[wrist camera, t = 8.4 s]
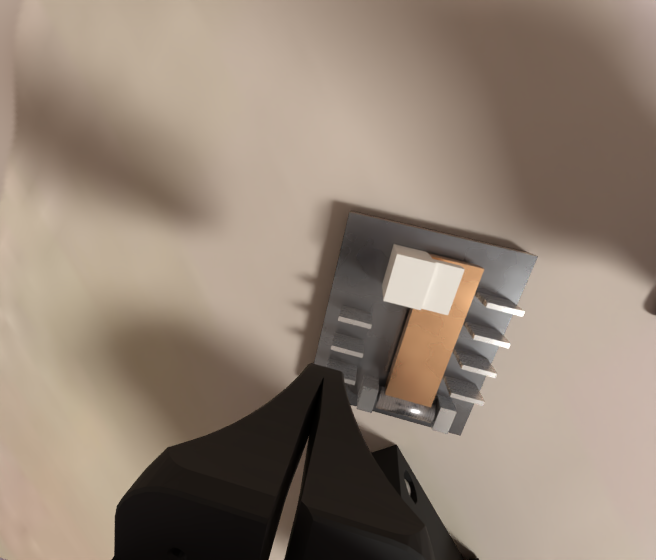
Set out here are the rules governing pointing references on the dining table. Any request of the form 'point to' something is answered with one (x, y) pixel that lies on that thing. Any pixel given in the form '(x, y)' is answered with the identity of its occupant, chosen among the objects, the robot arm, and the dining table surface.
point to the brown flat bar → (427, 351)
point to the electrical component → (416, 501)
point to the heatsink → (389, 319)
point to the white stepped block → (420, 280)
